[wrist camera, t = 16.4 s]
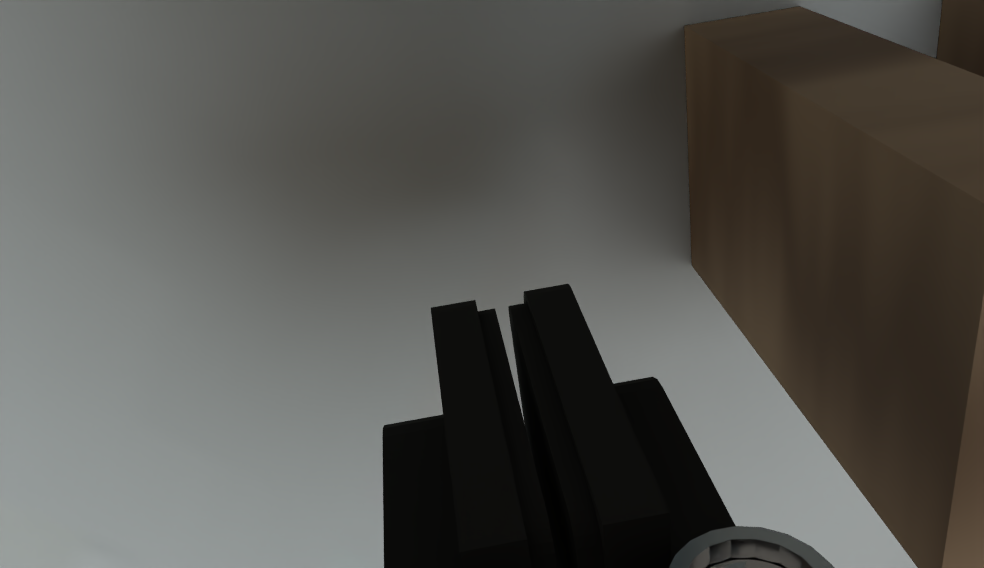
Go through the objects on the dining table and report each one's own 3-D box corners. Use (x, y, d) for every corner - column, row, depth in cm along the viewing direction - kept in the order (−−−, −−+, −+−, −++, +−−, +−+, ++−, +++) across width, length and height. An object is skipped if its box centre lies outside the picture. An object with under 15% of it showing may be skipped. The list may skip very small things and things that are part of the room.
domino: (684, 25, 16) (996, 210, 8) (799, 6, 16) (1224, 169, 8) (691, 265, 18) (937, 594, 10) (792, 247, 18) (1114, 559, 10)
